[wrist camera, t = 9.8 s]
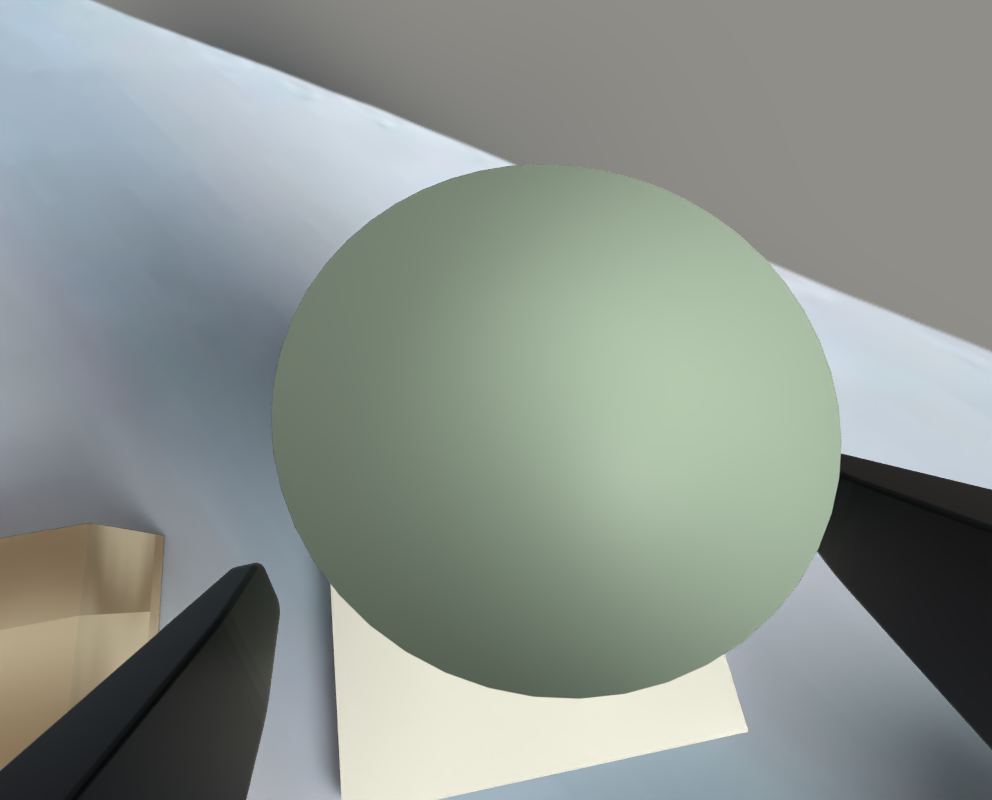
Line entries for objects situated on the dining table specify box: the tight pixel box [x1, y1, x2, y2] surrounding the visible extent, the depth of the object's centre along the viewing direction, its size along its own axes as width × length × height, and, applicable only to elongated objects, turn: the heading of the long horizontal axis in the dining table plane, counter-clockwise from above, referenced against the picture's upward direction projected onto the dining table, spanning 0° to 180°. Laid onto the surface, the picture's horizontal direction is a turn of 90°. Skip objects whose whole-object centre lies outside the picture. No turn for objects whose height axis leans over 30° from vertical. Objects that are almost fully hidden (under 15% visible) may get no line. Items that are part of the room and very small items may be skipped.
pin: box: [271, 164, 841, 699], centre depth 11 cm, size 5×5×13 cm
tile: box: [330, 583, 748, 800], centre depth 17 cm, size 14×12×1 cm
